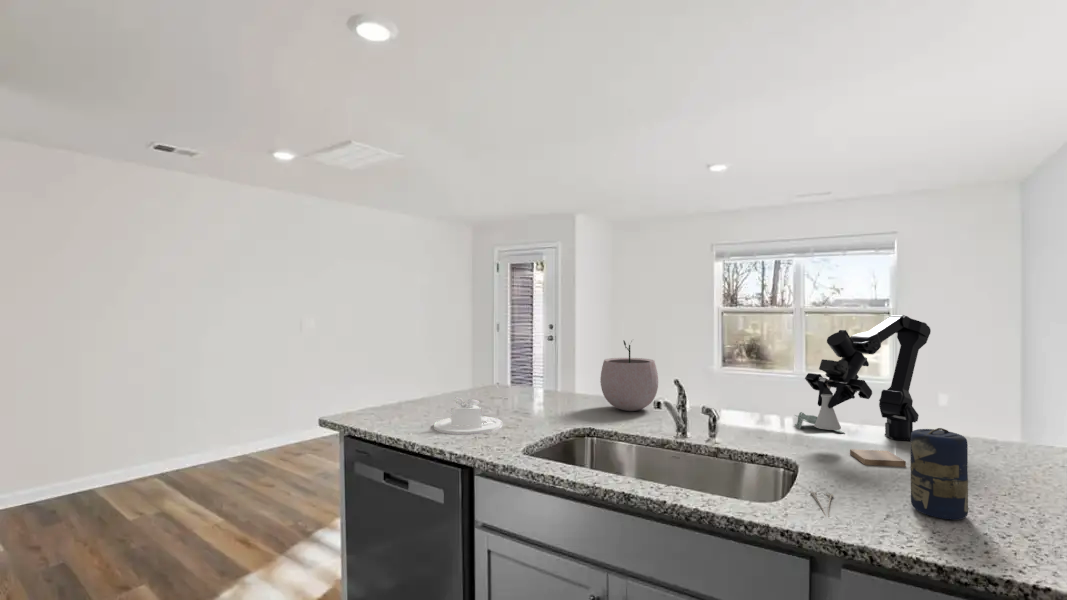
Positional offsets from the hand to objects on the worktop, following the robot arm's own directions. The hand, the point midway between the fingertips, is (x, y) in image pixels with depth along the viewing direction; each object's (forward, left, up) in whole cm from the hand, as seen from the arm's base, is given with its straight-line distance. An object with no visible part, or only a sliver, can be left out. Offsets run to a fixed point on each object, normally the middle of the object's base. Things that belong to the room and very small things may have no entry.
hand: (823, 406), depth 156 cm
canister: (-7, +47, -13) cm, 49 cm away
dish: (+116, -11, -14) cm, 117 cm away
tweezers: (+15, +48, -14) cm, 52 cm away
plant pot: (+58, -51, -13) cm, 79 cm away
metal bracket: (-7, -30, -14) cm, 34 cm away
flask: (-1, -1, -7) cm, 7 cm away
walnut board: (-11, +8, -13) cm, 19 cm away
